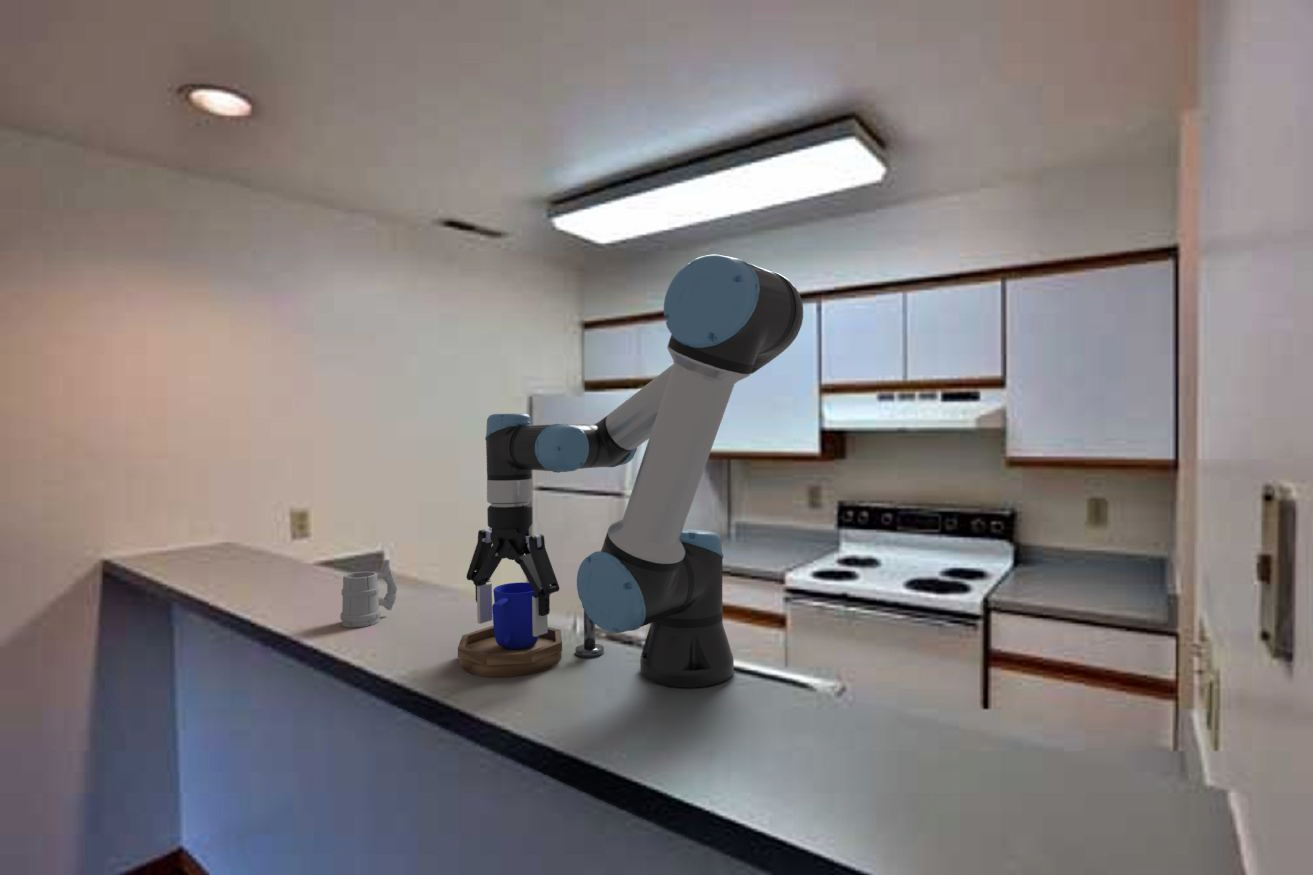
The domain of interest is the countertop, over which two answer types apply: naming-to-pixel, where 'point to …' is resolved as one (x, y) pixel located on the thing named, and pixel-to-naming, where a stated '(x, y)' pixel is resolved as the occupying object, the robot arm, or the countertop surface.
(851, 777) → the countertop surface
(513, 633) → the mug
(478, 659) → the octagonal wooden tray
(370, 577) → the mug
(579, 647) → the stand rod
